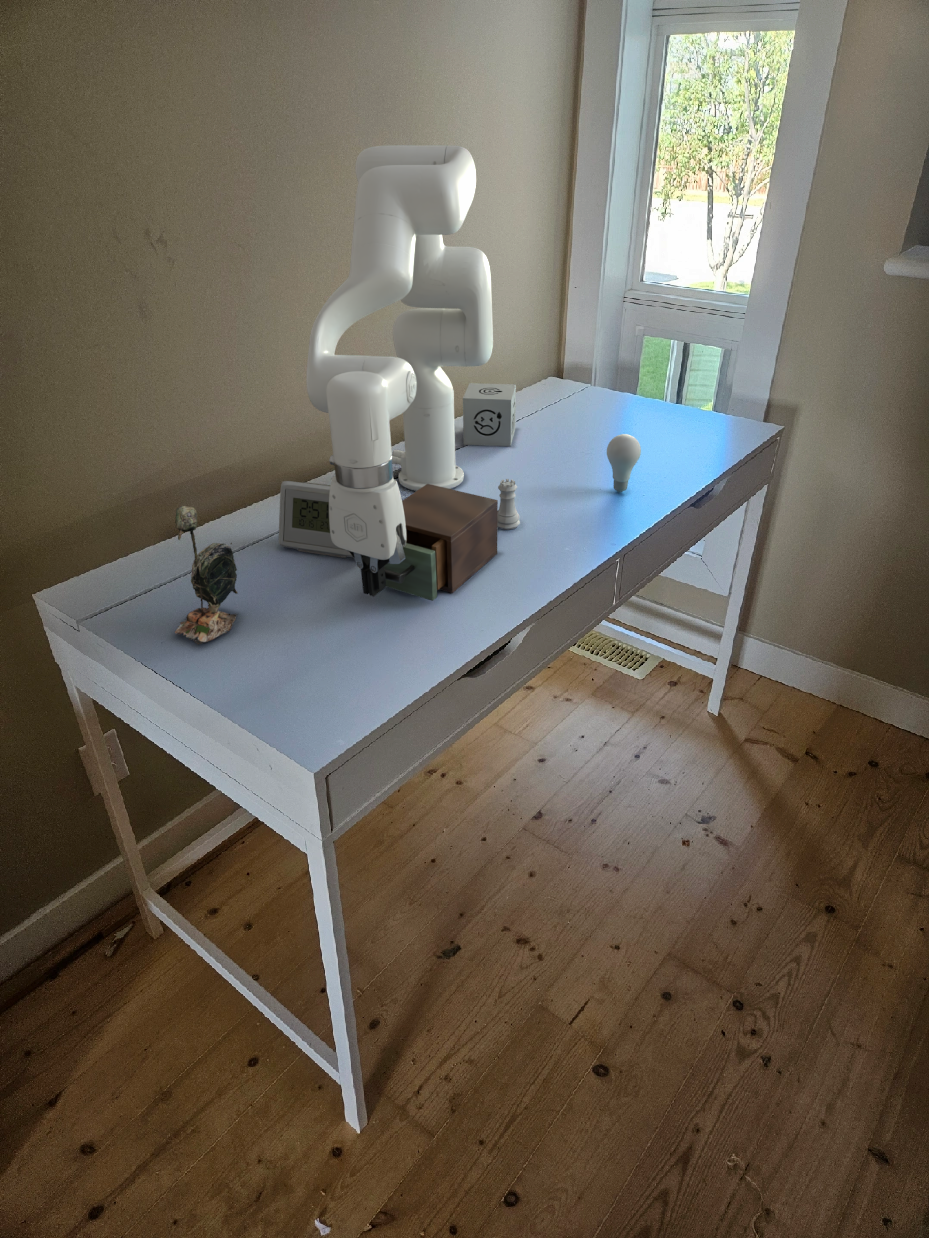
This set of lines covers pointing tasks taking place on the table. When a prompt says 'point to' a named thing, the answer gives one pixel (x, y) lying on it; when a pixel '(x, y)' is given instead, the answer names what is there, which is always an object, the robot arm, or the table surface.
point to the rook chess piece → (507, 506)
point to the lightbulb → (623, 459)
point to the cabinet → (455, 528)
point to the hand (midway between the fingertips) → (374, 590)
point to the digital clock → (306, 519)
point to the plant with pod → (207, 583)
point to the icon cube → (489, 414)
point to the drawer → (420, 566)
